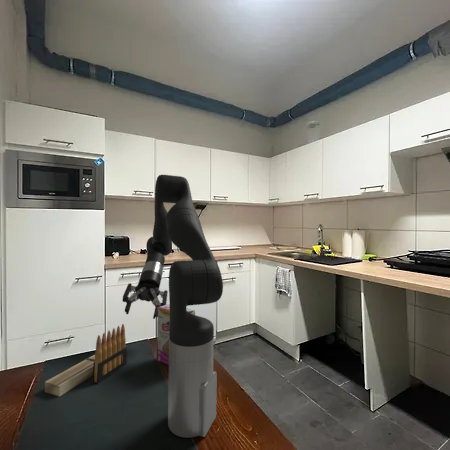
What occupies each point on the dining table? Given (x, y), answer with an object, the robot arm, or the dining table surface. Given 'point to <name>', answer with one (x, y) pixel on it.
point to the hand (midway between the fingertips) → (141, 315)
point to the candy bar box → (164, 333)
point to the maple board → (70, 377)
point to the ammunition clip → (109, 354)
